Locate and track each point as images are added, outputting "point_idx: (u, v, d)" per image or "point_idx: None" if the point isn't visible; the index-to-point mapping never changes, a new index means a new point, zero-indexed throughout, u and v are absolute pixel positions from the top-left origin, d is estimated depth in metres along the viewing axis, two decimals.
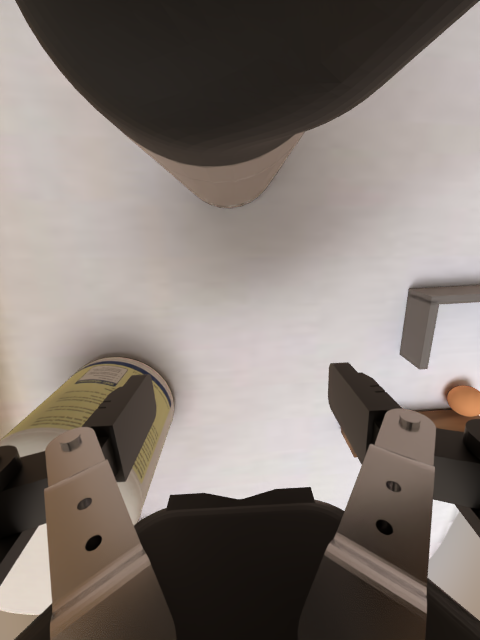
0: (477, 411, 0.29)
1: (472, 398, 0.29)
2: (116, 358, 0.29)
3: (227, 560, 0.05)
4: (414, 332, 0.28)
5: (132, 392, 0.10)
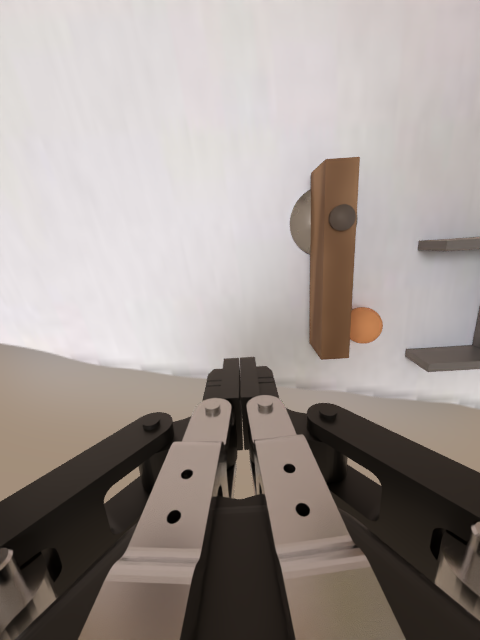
0: (368, 330, 0.24)
1: (380, 323, 0.24)
2: None
3: (227, 560, 0.05)
4: None
5: (236, 372, 0.11)
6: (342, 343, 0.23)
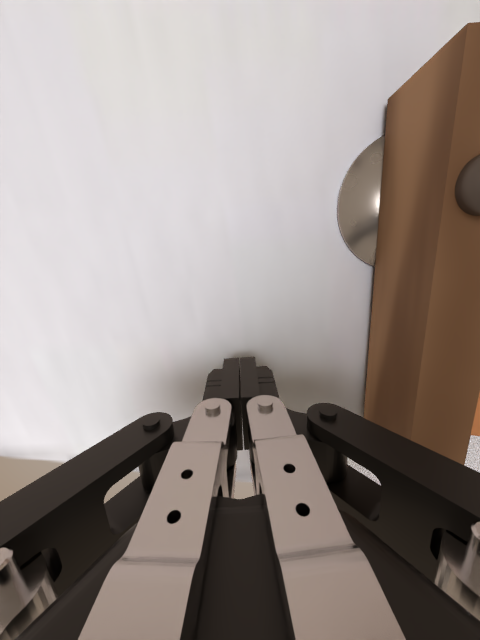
0: None
1: None
2: None
3: (227, 560, 0.05)
4: None
5: (236, 372, 0.11)
6: (452, 452, 0.11)
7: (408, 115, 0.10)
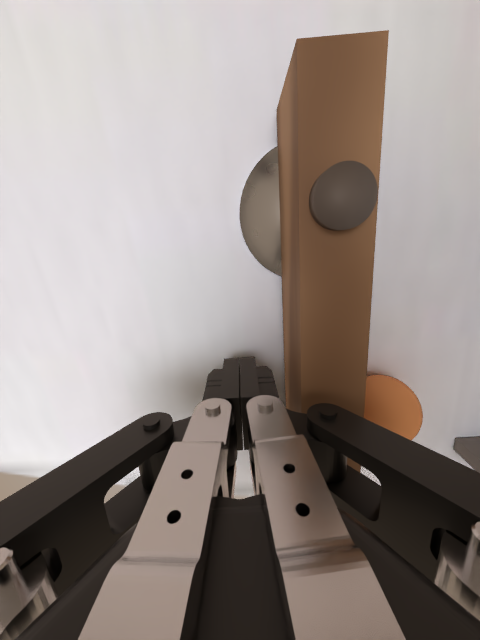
0: (396, 431, 0.12)
1: (420, 414, 0.12)
2: None
3: (227, 560, 0.05)
4: None
5: (236, 372, 0.11)
6: None
7: (283, 127, 0.10)
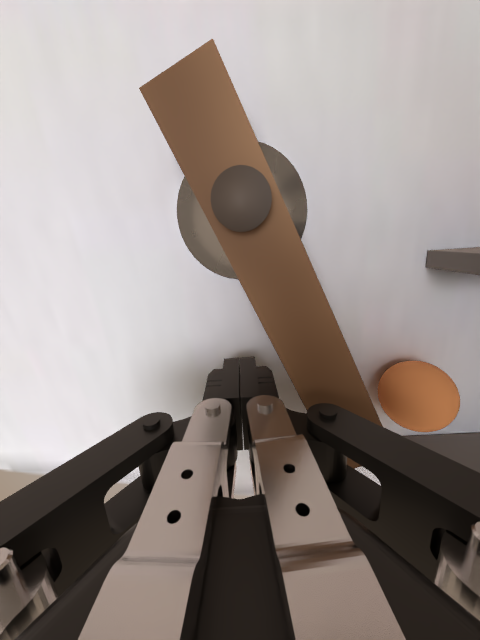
0: None
1: None
2: None
3: (227, 560, 0.05)
4: None
5: (236, 372, 0.11)
6: None
7: None
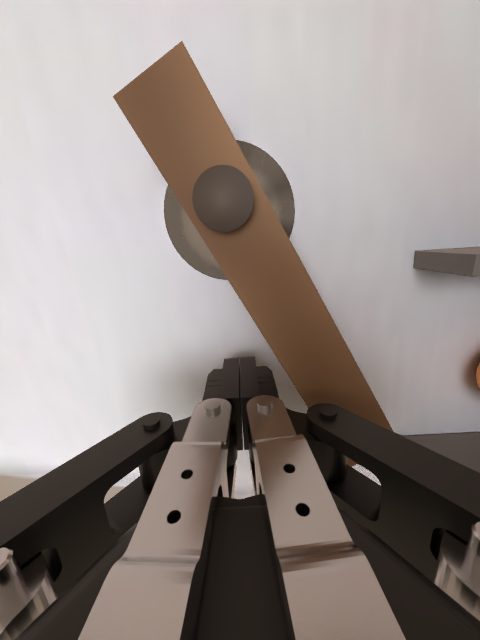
0: None
1: None
2: None
3: (227, 560, 0.05)
4: None
5: (236, 372, 0.11)
6: None
7: None
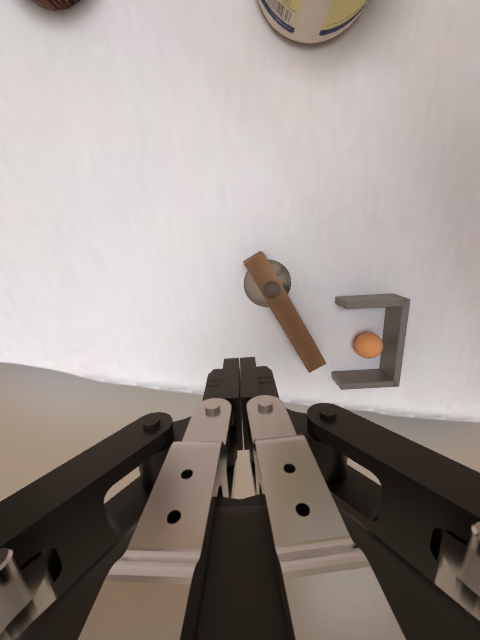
0: (363, 348, 0.34)
1: (376, 346, 0.34)
2: None
3: (227, 560, 0.05)
4: (368, 298, 0.33)
5: (236, 372, 0.11)
6: (316, 357, 0.33)
7: None
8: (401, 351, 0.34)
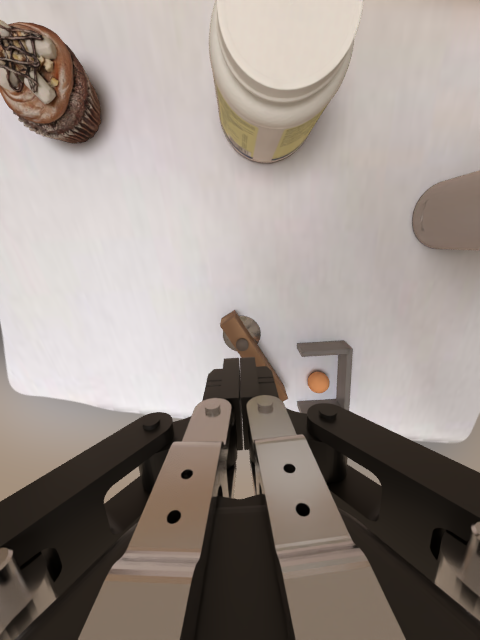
0: (309, 383, 0.43)
1: (316, 384, 0.42)
2: None
3: (227, 560, 0.05)
4: (321, 346, 0.42)
5: (236, 372, 0.11)
6: (280, 393, 0.41)
7: None
8: (348, 388, 0.42)
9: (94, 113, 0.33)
